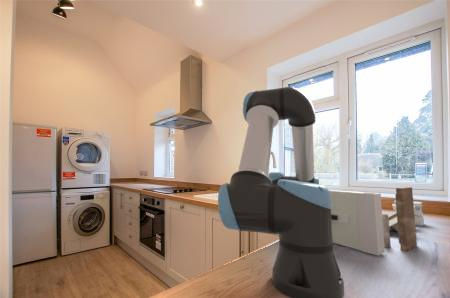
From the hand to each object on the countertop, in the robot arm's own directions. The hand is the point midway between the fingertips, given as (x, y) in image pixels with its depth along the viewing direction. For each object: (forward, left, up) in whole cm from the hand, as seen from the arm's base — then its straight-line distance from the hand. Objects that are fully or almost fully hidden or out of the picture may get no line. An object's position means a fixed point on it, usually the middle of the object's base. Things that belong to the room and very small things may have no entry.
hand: (351, 218), depth 75 cm
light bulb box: (+56, +22, -10) cm, 61 cm away
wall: (+32, +14, -10) cm, 37 cm away
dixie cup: (+46, +17, -10) cm, 50 cm away
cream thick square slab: (0, 0, -9) cm, 9 cm away
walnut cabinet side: (+17, -2, -10) cm, 20 cm away
